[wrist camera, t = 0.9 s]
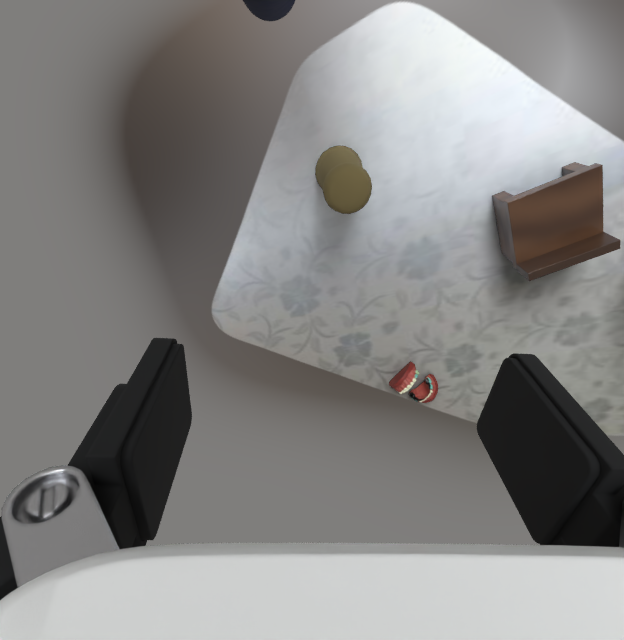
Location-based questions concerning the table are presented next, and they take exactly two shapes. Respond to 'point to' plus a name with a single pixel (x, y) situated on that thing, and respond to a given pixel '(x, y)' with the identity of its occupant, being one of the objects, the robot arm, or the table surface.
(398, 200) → the table surface
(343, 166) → the pepper shaker
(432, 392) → the dental model
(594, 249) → the shelf
